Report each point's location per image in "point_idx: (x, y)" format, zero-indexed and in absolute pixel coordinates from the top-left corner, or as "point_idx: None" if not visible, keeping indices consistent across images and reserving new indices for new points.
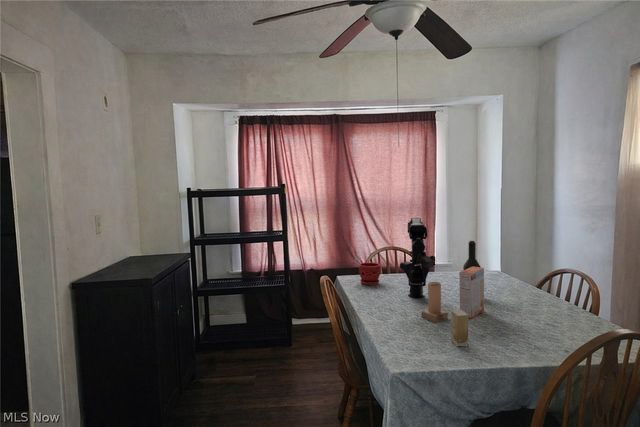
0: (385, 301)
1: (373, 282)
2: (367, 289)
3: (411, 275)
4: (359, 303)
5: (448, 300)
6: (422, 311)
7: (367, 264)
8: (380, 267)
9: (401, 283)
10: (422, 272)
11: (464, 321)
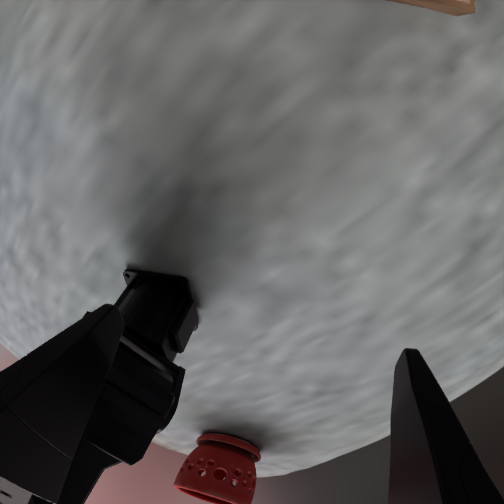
0: (363, 348)
1: (233, 444)
2: (285, 433)
3: (467, 467)
4: (458, 382)
5: (52, 155)
6: (467, 7)
7: (203, 495)
8: (181, 478)
9: None
10: (85, 415)
11: None
